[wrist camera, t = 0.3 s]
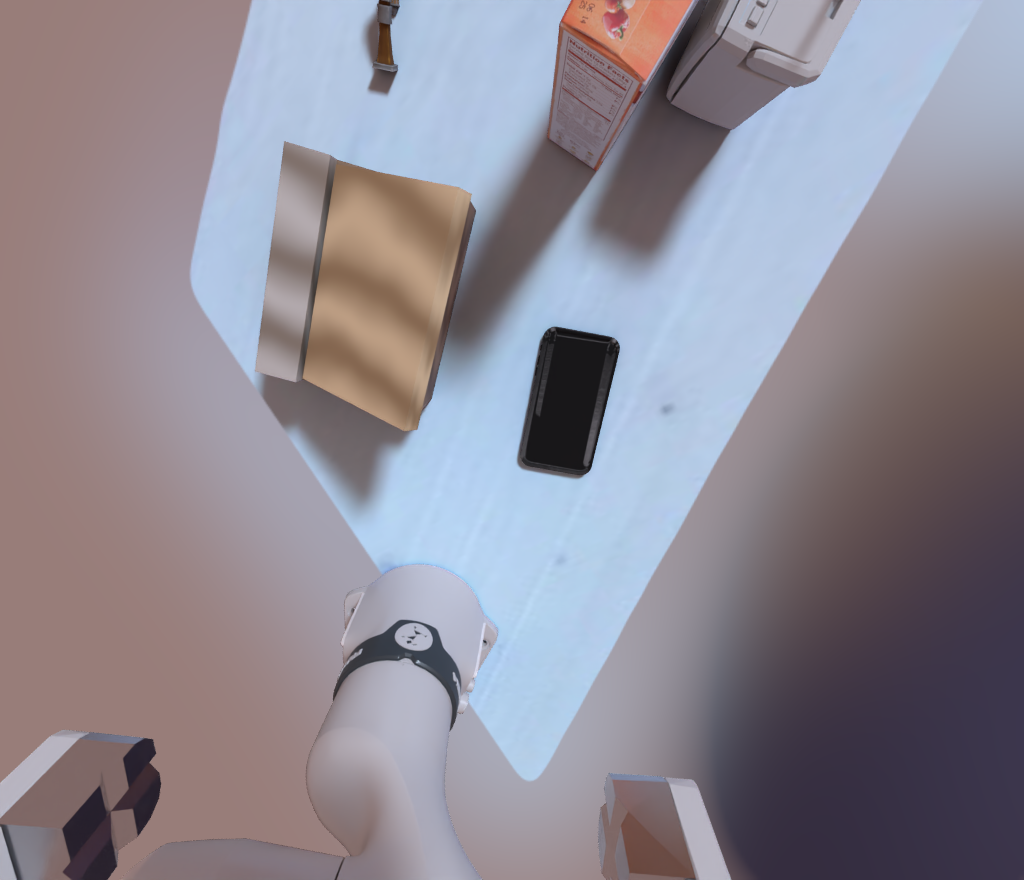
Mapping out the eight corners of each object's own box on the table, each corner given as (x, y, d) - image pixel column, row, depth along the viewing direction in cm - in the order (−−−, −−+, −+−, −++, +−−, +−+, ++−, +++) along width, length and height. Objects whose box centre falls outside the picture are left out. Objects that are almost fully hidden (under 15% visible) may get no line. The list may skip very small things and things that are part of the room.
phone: (622, 339, 50) (589, 476, 54) (620, 338, 51) (587, 473, 55) (545, 325, 50) (518, 464, 54) (544, 324, 51) (518, 460, 55)
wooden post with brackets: (408, -52, 41) (392, -58, 38) (405, 67, 46) (392, 72, 43) (386, -56, 41) (369, -63, 38) (386, 63, 46) (371, 67, 43)
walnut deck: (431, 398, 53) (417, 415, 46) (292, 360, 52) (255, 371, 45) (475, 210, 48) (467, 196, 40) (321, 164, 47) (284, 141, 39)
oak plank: (417, 429, 40) (404, 431, 39) (316, 378, 46) (302, 378, 45) (471, 194, 35) (458, 187, 34) (351, 170, 41) (336, 164, 40)
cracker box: (629, -25, 42) (725, -310, 22) (686, 19, 43) (830, -217, 23) (540, 137, 46) (555, 18, 26) (595, 174, 46) (651, 87, 26)
